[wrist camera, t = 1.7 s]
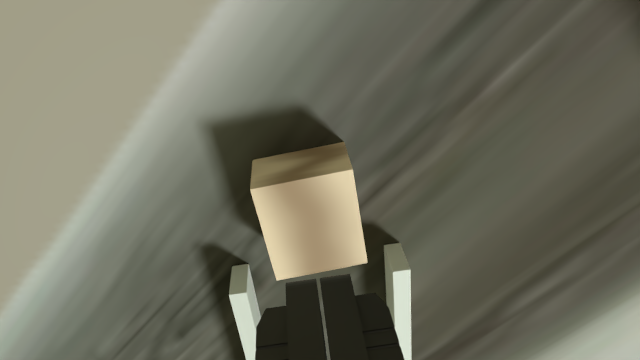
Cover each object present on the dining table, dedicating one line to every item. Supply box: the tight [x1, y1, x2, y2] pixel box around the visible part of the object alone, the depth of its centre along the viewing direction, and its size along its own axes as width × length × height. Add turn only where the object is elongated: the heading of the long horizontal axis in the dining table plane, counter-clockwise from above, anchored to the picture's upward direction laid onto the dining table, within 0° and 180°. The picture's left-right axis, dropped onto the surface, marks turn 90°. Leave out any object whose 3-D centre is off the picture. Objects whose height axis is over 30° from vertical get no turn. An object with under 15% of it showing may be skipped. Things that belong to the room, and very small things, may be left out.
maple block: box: [250, 142, 368, 280], centre depth 30 cm, size 6×7×4 cm
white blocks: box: [229, 243, 411, 360], centre depth 36 cm, size 12×12×3 cm
